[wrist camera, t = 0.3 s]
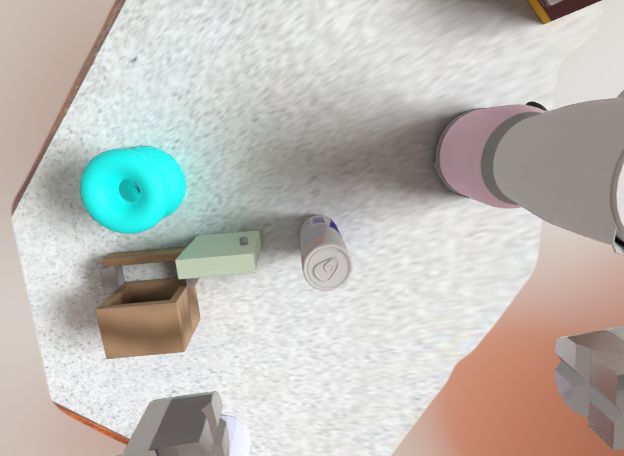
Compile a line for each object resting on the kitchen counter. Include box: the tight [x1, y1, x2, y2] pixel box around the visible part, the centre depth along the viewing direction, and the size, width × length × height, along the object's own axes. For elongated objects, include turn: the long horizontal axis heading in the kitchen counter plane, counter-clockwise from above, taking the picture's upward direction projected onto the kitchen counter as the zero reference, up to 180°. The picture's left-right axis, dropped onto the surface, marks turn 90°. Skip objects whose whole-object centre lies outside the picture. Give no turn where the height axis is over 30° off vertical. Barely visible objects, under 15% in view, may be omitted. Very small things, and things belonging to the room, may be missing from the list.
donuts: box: [80, 146, 186, 234], centre depth 48 cm, size 10×10×10 cm
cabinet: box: [95, 247, 200, 359], centre depth 53 cm, size 12×12×9 cm
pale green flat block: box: [175, 230, 262, 279], centre depth 50 cm, size 3×9×11 cm, turn 94°
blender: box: [434, 91, 624, 255], centre depth 39 cm, size 16×12×32 cm
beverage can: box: [300, 215, 353, 291], centre depth 49 cm, size 6×6×15 cm
